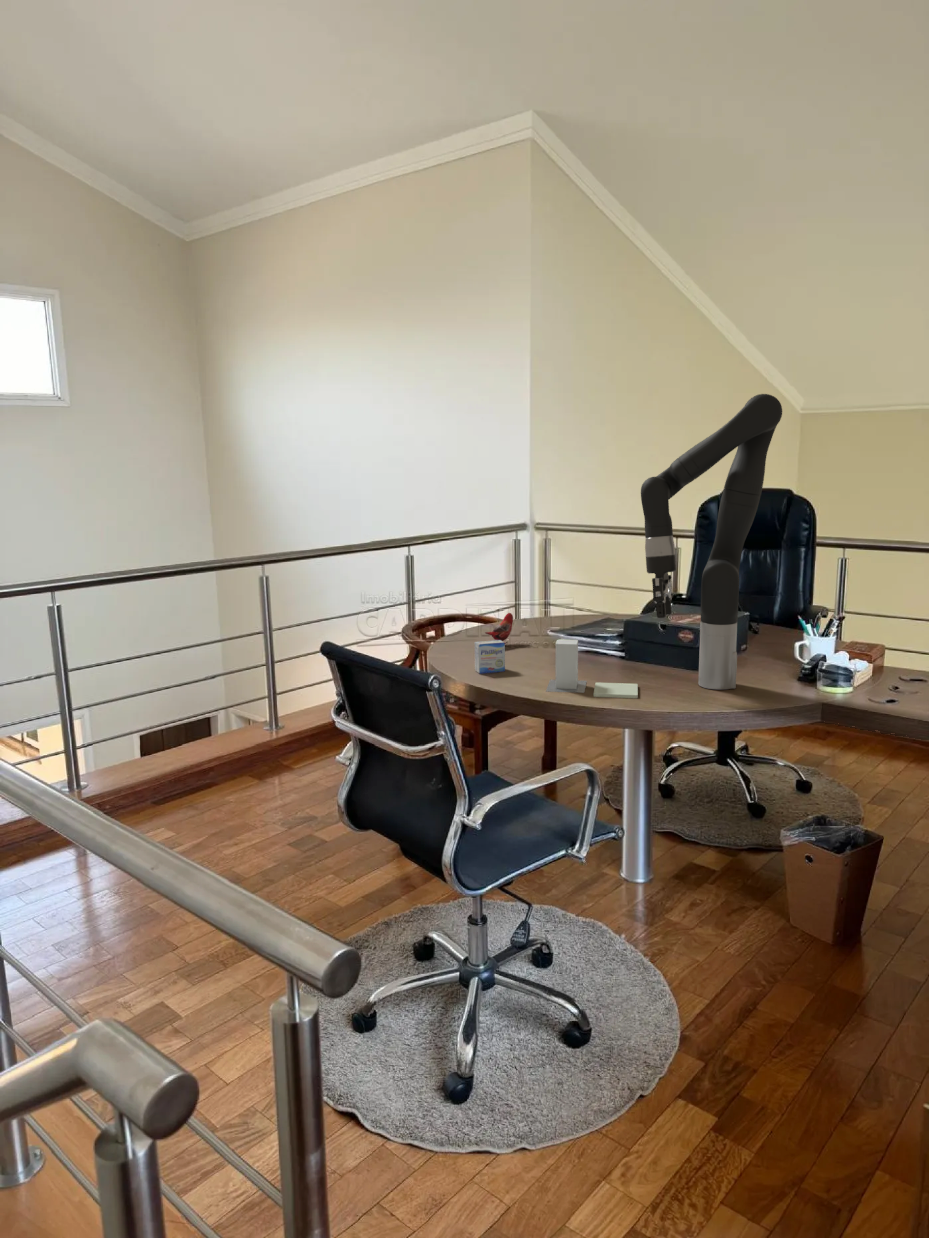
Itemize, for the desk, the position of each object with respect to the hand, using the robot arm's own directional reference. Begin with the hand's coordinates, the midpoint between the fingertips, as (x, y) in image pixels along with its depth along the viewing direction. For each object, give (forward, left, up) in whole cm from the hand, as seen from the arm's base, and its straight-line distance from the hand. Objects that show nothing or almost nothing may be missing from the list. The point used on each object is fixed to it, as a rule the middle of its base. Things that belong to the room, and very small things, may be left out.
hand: (664, 616), depth 227 cm
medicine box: (+48, -10, -19) cm, 53 cm away
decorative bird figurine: (+50, -42, -19) cm, 68 cm away
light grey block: (+25, +4, -19) cm, 31 cm away
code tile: (+25, +4, -19) cm, 32 cm away
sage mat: (+12, +8, -19) cm, 24 cm away
